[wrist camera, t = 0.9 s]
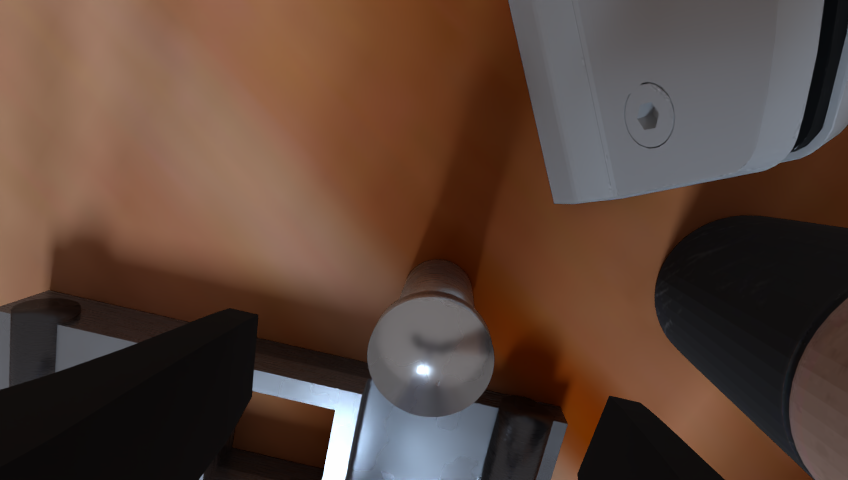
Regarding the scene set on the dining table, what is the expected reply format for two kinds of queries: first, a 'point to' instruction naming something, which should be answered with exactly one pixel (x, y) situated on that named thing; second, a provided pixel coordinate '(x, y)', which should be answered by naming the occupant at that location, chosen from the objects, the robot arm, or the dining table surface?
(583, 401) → the dining table surface
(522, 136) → the dining table surface
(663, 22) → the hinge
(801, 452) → the travel mug
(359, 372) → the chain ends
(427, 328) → the steel pin
